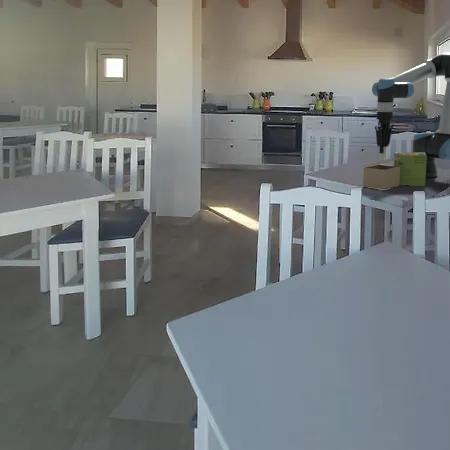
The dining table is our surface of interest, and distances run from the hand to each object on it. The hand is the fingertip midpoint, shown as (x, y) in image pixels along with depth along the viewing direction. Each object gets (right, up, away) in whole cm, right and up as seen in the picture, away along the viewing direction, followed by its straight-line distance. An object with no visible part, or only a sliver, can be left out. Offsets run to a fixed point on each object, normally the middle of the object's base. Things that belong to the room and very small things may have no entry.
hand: (382, 159), depth 317 cm
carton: (0, -13, +4) cm, 14 cm away
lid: (0, -1, +1) cm, 2 cm away
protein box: (+16, -11, +11) cm, 22 cm away
